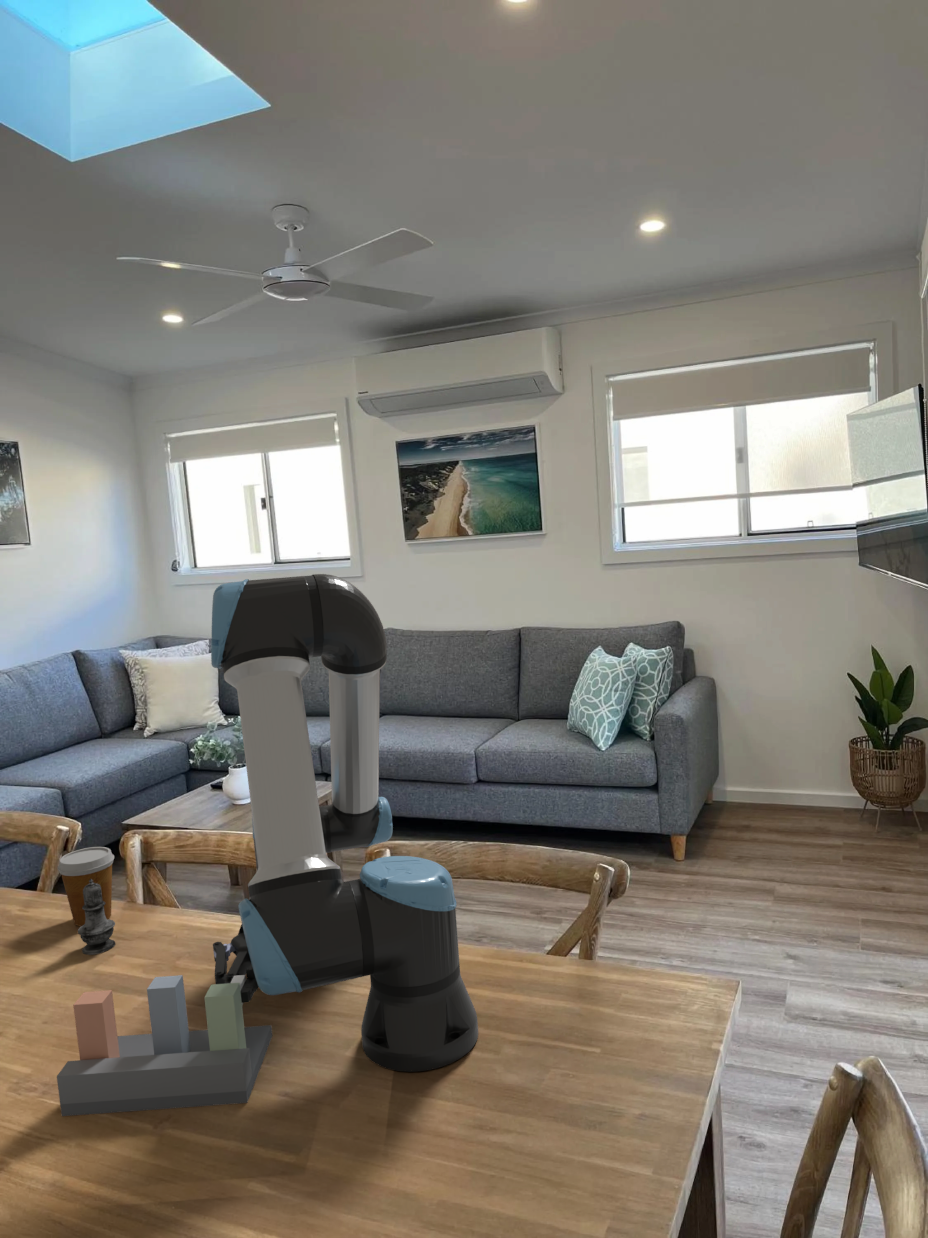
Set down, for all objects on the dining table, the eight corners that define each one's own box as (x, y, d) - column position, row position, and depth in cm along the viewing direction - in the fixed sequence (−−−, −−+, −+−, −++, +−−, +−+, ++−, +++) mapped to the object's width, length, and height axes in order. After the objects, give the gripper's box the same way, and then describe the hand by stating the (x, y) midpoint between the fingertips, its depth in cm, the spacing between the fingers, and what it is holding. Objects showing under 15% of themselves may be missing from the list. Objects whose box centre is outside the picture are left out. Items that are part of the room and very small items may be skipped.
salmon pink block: (120, 1066, 111) (111, 990, 110) (111, 1081, 108) (102, 1003, 107) (93, 1068, 111) (83, 992, 110) (82, 1083, 108) (73, 1005, 107)
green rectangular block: (247, 1059, 110) (239, 982, 109) (241, 1074, 107) (233, 995, 106) (219, 1061, 110) (211, 984, 109) (212, 1076, 107) (204, 997, 106)
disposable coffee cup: (67, 914, 164) (60, 851, 163) (122, 904, 167) (115, 842, 166) (61, 935, 155) (52, 869, 154) (118, 924, 158) (111, 859, 157)
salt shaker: (104, 956, 146) (95, 886, 145) (72, 955, 147) (63, 885, 146) (124, 939, 151) (116, 872, 150) (93, 939, 153) (85, 871, 152)
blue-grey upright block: (190, 1050, 113) (182, 975, 112) (183, 1064, 110) (175, 987, 109) (163, 1051, 113) (155, 977, 112) (155, 1065, 110) (146, 989, 109)
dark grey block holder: (272, 1035, 118) (268, 1000, 118) (247, 1103, 104) (243, 1063, 104) (108, 1047, 118) (104, 1012, 118) (61, 1116, 104) (56, 1076, 104)
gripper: (315, 945, 134) (282, 1037, 110) (229, 951, 134) (178, 1044, 110) (310, 898, 133) (276, 981, 109) (224, 904, 133) (171, 988, 109)
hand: (227, 1012), depth 110 cm, fingers closed
